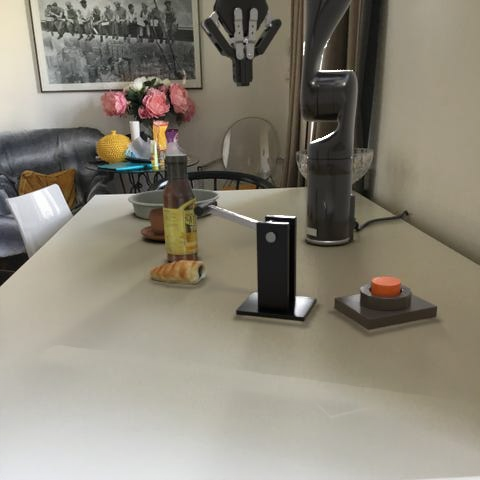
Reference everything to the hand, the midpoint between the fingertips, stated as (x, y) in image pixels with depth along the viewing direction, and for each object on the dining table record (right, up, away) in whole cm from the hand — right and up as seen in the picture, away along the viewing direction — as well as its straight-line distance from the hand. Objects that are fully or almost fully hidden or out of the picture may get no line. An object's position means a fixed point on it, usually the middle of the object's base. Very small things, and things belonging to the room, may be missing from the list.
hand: (243, 86), depth 89 cm
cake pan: (-18, -8, +65) cm, 68 cm away
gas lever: (0, -24, -9) cm, 25 cm away
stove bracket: (+5, -36, -6) cm, 36 cm away
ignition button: (+20, -33, -10) cm, 40 cm away
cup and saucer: (-17, -18, +38) cm, 46 cm away
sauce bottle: (-12, -25, +21) cm, 35 cm away
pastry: (-11, -30, +9) cm, 33 cm away
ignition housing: (+20, -36, -8) cm, 42 cm away
